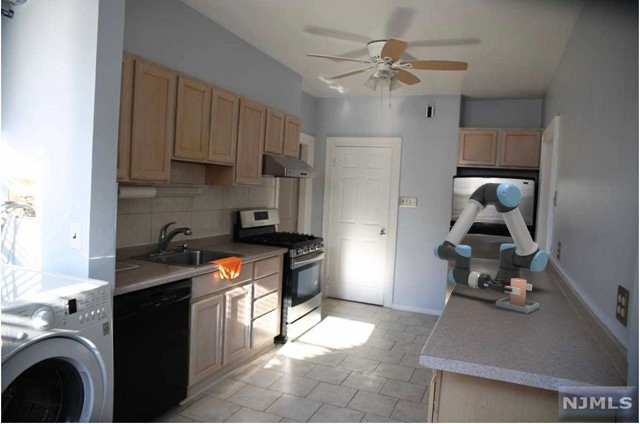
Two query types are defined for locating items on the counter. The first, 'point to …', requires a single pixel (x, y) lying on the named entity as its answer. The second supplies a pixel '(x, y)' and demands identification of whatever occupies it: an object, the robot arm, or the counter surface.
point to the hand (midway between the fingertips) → (526, 289)
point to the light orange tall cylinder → (520, 299)
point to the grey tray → (527, 309)
